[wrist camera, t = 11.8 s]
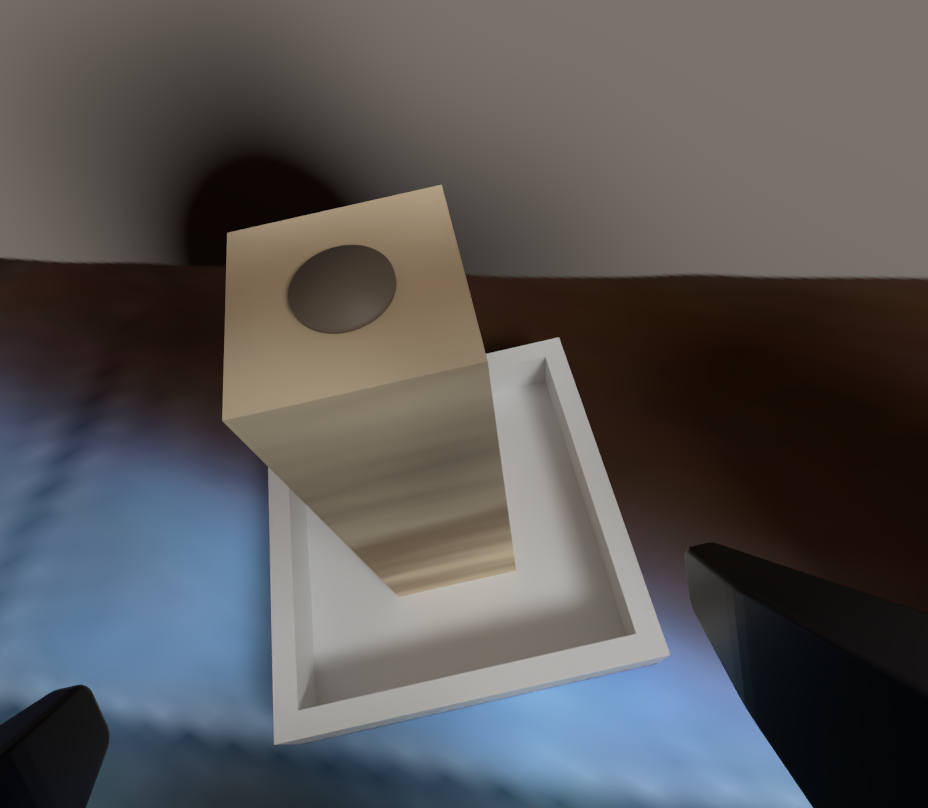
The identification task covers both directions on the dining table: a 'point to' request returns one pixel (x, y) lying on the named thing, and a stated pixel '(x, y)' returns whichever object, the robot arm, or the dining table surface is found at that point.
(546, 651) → the tray
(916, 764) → the robot arm
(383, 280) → the maple block
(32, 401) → the dining table surface
